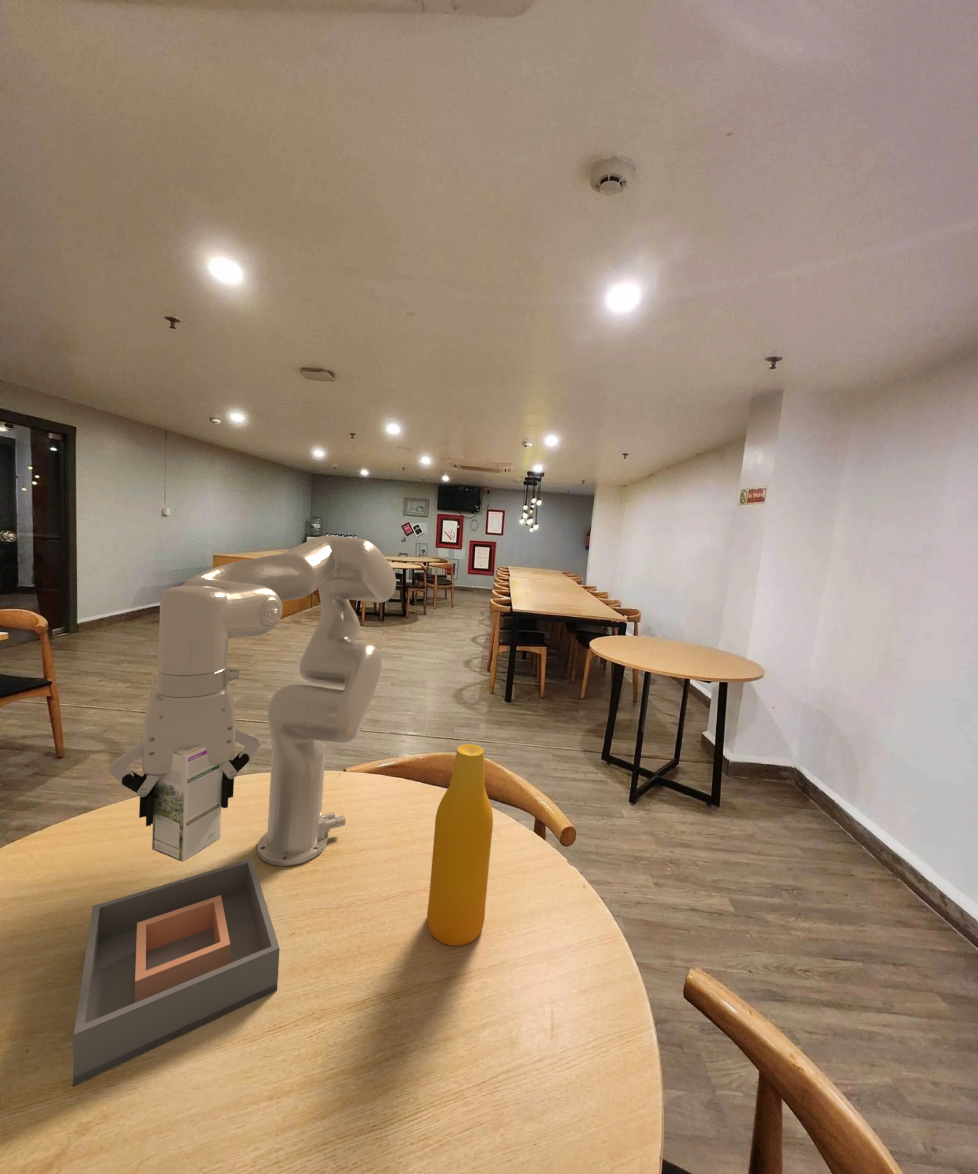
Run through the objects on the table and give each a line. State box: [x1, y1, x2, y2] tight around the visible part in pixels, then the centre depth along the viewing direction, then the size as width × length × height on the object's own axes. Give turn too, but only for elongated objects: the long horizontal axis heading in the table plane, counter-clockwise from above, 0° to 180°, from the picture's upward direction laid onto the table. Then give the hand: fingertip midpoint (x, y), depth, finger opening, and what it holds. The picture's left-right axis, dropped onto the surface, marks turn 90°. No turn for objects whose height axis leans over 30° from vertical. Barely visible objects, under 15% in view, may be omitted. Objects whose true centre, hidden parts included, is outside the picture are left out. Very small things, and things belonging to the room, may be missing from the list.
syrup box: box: [151, 745, 223, 863], centre depth 60 cm, size 6×6×14 cm
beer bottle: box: [426, 743, 494, 947], centre depth 72 cm, size 9×9×29 cm
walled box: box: [72, 857, 281, 1088], centre depth 61 cm, size 20×20×6 cm
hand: (187, 810), depth 60 cm, fingers closed on syrup box, 7 cm apart
